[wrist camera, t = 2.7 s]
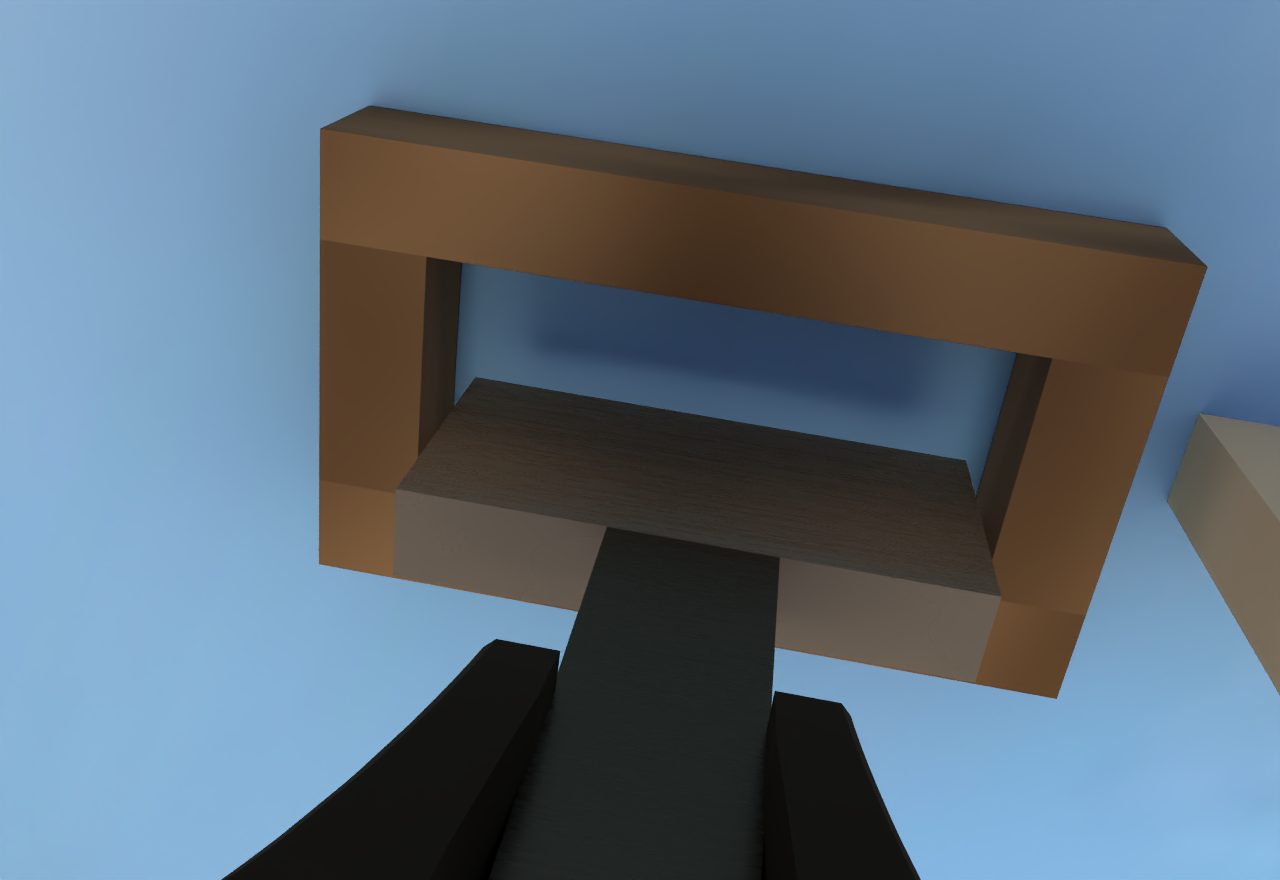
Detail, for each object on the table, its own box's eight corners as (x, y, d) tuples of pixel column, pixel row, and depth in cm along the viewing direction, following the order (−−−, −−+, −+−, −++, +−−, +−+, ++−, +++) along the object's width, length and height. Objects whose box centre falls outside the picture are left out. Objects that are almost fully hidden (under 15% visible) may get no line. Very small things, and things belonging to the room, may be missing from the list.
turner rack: (1166, 228, 17) (1208, 266, 15) (1035, 628, 20) (1057, 698, 19) (369, 105, 18) (319, 129, 16) (361, 507, 21) (319, 564, 19)
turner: (965, 460, 16) (1131, 1091, 8) (945, 534, 17) (1079, 1202, 8) (475, 377, 17) (116, 882, 8) (470, 451, 17) (127, 998, 9)
